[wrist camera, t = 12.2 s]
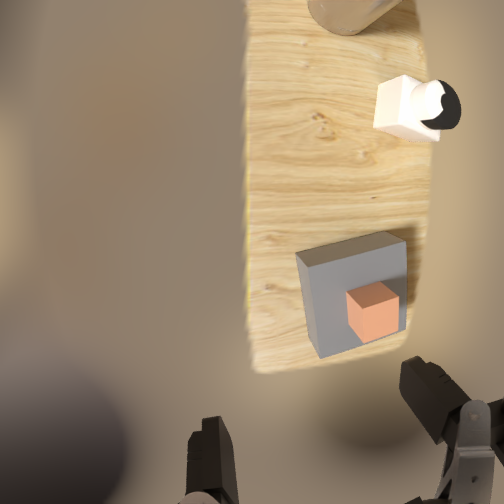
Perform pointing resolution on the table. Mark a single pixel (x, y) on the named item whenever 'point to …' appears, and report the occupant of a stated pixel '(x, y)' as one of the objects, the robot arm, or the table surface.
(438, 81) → the medicine bottle
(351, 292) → the terracotta cube
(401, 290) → the slate pedestal
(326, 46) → the table surface
